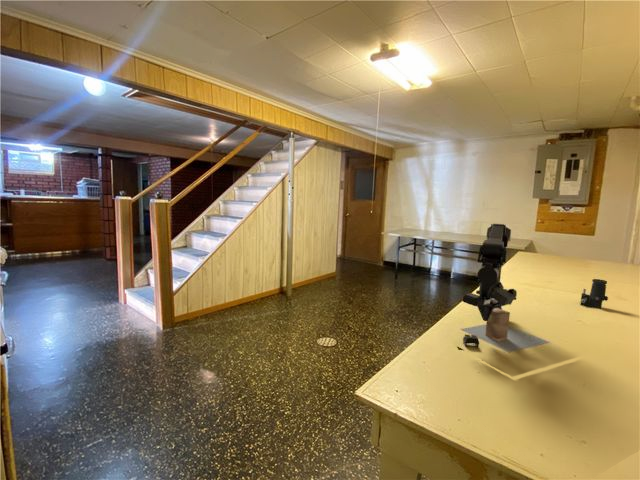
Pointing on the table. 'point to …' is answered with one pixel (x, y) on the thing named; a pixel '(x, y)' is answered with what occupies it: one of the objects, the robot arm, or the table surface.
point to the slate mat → (514, 338)
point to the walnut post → (498, 324)
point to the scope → (595, 294)
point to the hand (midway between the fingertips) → (485, 320)
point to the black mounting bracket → (470, 340)
